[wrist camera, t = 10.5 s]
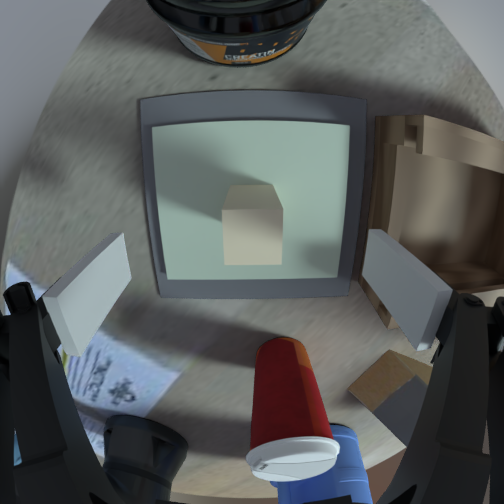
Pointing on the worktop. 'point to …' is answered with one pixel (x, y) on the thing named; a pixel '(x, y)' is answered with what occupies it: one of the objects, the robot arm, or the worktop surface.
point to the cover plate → (251, 162)
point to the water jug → (332, 476)
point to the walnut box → (440, 202)
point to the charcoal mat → (258, 109)
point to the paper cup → (288, 416)
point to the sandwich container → (394, 392)
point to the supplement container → (237, 27)
